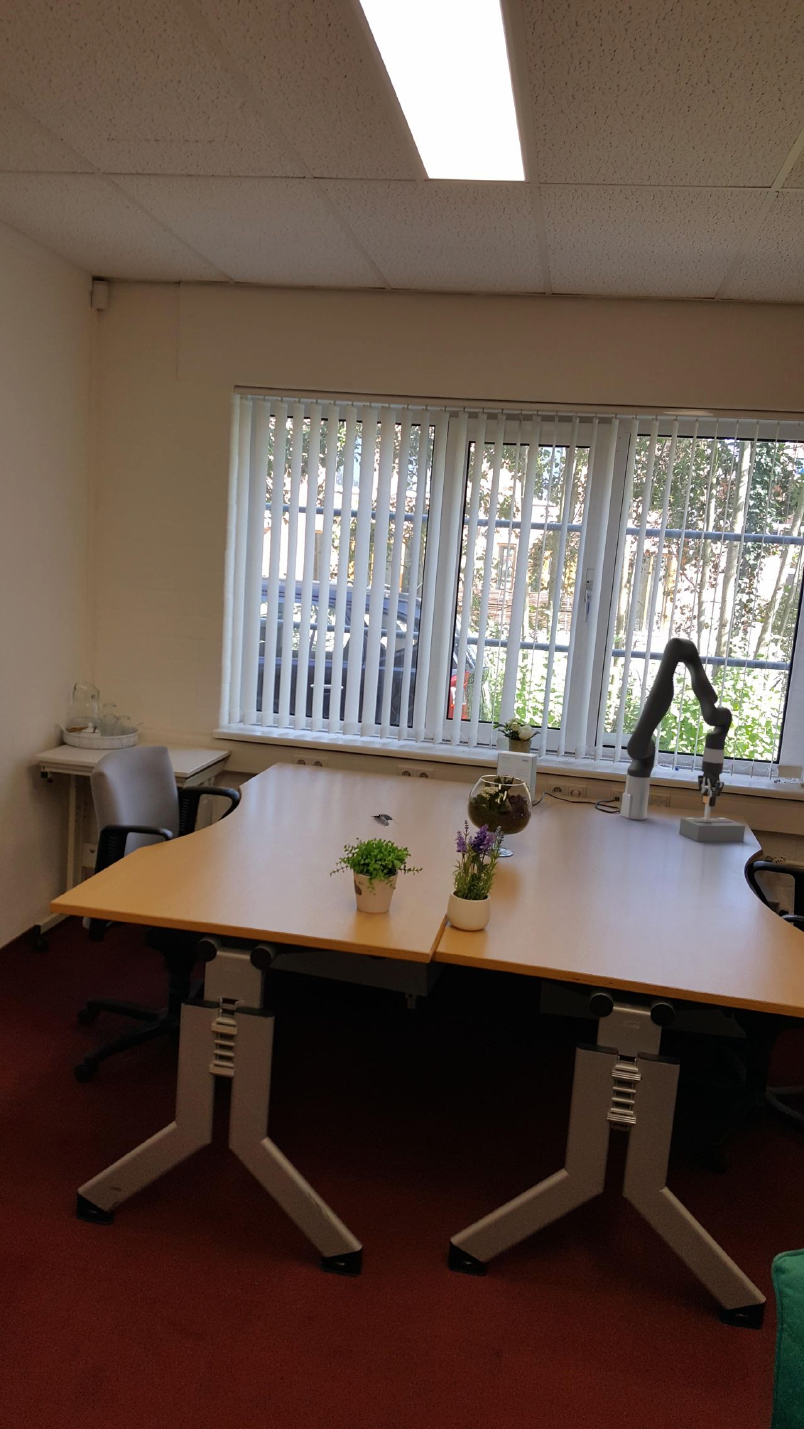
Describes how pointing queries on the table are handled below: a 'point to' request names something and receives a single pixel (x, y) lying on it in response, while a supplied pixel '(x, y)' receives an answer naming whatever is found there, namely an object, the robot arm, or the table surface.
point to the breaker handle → (706, 809)
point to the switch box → (712, 830)
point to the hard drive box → (518, 767)
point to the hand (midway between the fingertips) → (708, 804)
